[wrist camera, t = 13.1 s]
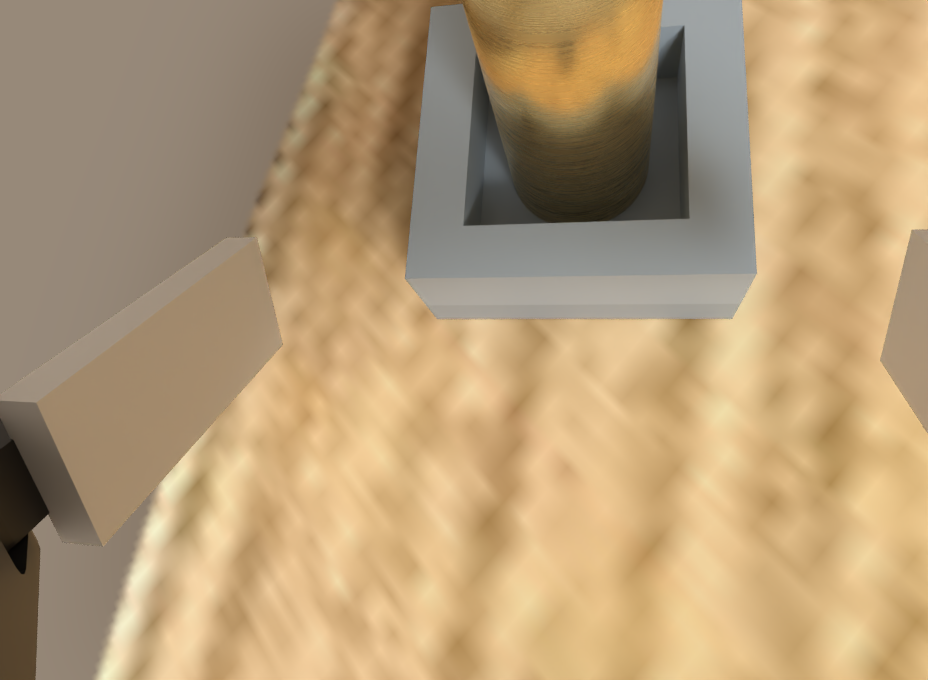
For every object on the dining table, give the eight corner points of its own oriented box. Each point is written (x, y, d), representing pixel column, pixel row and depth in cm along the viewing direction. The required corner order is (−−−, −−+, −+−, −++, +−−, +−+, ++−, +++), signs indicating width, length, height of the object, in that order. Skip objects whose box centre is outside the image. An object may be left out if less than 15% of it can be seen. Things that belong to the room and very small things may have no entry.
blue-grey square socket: (720, 59, 25) (740, -26, 21) (732, 318, 22) (756, 273, 18) (456, 81, 27) (431, 7, 23) (437, 319, 24) (404, 278, 20)
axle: (613, 87, 24) (610, -397, 11) (672, 191, 22) (743, -243, 10) (493, 143, 24) (366, -268, 12) (543, 249, 22) (458, -99, 10)
